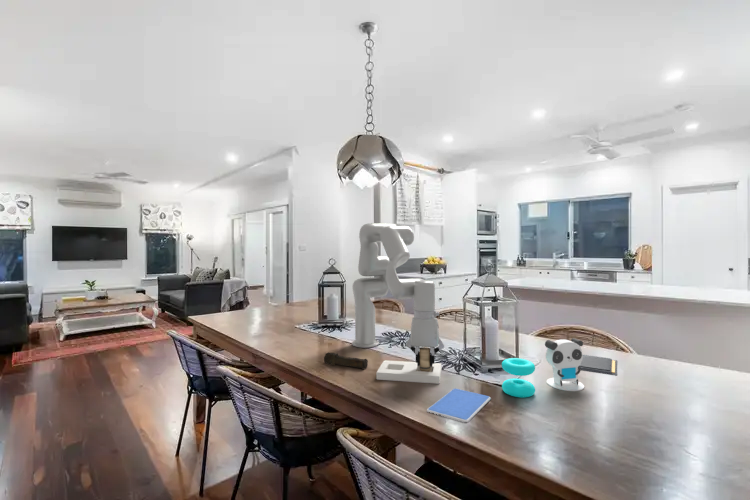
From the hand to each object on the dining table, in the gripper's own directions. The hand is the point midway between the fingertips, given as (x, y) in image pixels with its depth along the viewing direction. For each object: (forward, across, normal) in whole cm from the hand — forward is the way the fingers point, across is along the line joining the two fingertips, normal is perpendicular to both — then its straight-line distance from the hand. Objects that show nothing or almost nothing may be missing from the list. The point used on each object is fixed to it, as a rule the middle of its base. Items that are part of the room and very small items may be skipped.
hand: (425, 364), depth 138 cm
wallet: (+5, -63, -24) cm, 68 cm away
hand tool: (+4, +32, -5) cm, 33 cm away
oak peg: (+3, 0, 0) cm, 3 cm away
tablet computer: (+5, -12, +23) cm, 26 cm away
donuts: (+4, -30, +10) cm, 32 cm away
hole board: (+4, +6, 0) cm, 7 cm away
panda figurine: (+4, -46, 0) cm, 47 cm away
